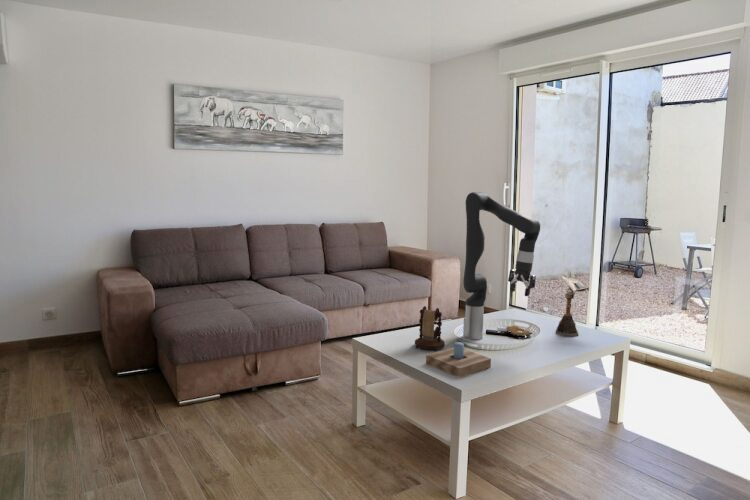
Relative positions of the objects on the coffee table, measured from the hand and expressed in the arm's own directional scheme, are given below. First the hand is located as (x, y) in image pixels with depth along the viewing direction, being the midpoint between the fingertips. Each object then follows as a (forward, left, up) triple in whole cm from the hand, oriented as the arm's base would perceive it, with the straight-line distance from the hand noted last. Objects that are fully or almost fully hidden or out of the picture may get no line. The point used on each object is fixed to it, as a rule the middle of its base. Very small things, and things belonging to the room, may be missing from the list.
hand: (519, 293), depth 249 cm
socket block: (-2, -39, -28) cm, 48 cm away
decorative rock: (-15, +21, -28) cm, 39 cm away
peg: (-2, -39, -28) cm, 48 cm away
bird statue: (+2, +46, -28) cm, 54 cm away
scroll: (-28, -31, -28) cm, 51 cm away
